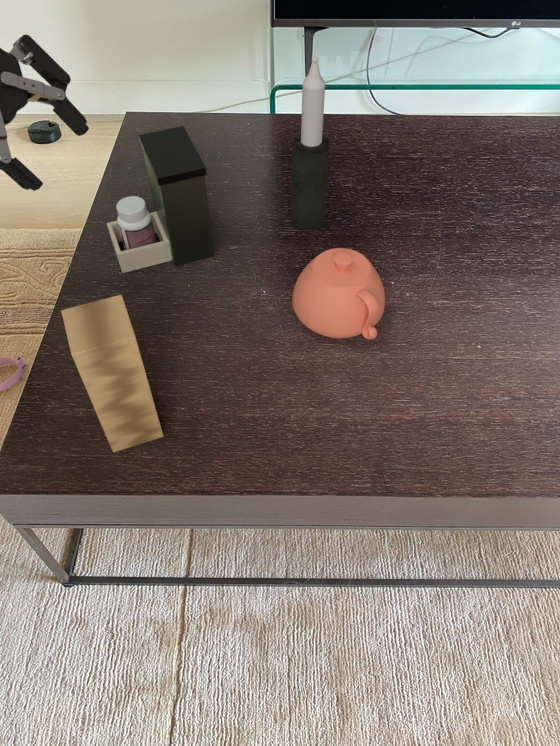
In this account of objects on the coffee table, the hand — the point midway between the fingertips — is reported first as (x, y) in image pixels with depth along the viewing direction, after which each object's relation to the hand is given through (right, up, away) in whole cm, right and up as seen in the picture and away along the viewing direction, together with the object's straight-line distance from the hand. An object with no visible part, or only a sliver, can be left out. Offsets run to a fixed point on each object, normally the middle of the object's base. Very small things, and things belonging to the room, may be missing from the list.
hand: (62, 159), depth 68 cm
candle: (+28, +1, +29) cm, 40 cm away
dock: (+3, -5, +24) cm, 25 cm away
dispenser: (+10, -3, +26) cm, 28 cm away
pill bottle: (+3, -5, +24) cm, 25 cm away
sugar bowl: (+32, -16, +16) cm, 39 cm away
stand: (+6, -30, +6) cm, 31 cm away
